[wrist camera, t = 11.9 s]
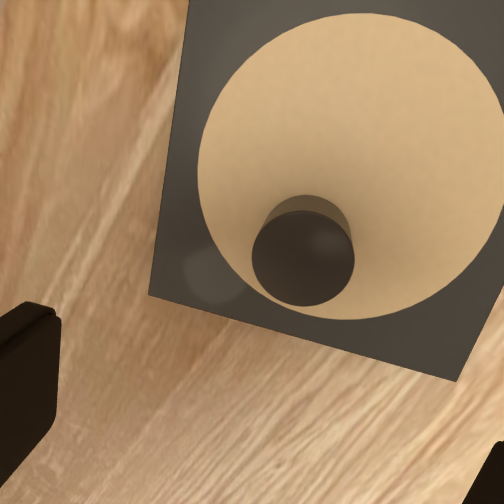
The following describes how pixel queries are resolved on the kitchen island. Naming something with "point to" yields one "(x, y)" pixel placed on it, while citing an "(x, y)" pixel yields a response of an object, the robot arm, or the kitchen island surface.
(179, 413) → the kitchen island surface
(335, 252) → the dot
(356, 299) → the face board
